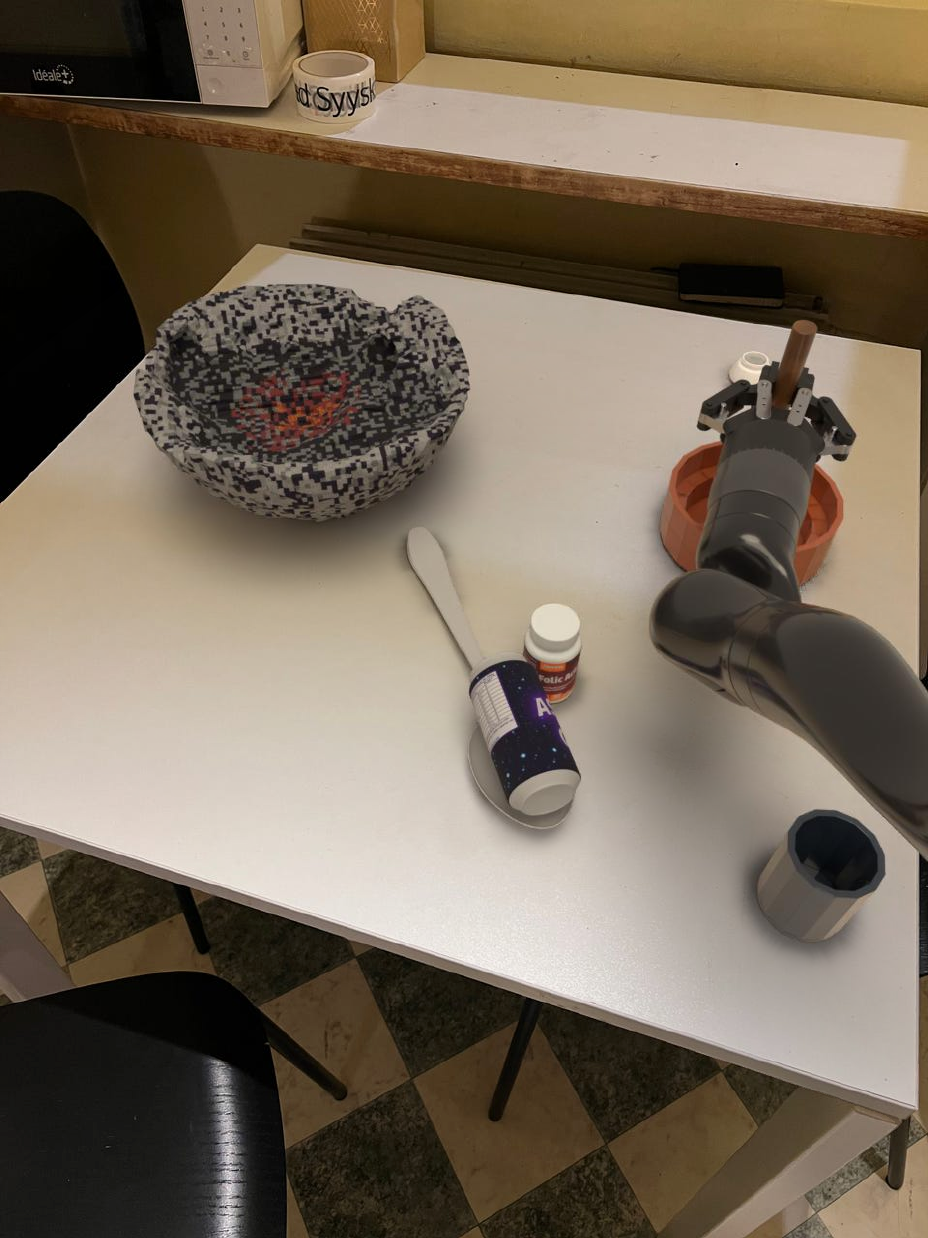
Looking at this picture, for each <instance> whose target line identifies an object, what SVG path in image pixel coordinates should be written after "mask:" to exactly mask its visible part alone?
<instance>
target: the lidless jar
mask: <svg viewBox="0 0 928 1238" xmlns="http://www.w3.org/2000/svg"><path fill="white" fill-rule="evenodd" d="M765 365H769V366H771V364H770V359H769V357H768V356H767V355H766V354H765V353H763V352H759V351H755V350H754V351H747V352H745V353H743V355H742V356H741V357H740V358H738V360H737V361H736V362H735V363H734V364H733V365H732V366H731V367H730V369H729V371H728V377H729V379H730V381H731V382H732V383H735V382H736V381H738V380H741V379H743V380H747V381H749V382H750V385H753V384H757V383H758V381H759V377H760V374H761V371H762V367H764V366H765Z"/></svg>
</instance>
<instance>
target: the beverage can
mask: <svg viewBox="0 0 928 1238" xmlns="http://www.w3.org/2000/svg"><path fill="white" fill-rule="evenodd" d="M471 669H472V668H471ZM468 681H469V687H468V696H469V699H470V701H471V705H472V707H473V711H474V714H475V716H476V718H477V721H478V722H479V724H480V727H481V730H482V732H483V735H484V738H485V741H486V744H487V746H488V749H489V752H490V755H491V758H492V760H493V763H494V766H495V769H496V772H497V774H498V777H499V780H500V783H501V786H502V788H503V791H504V794H505V797H506V800H507V802H508V804H509V806H511V807H512V808H514V809H517V810H520V811H522V812H523V813H525V814H527V815H543V814H547V813H550V812H553V811H556V810H558V809H560V808H561V807H563V806H565V805H566V804H567V803H569V802H570V801H571V800H572V799H573V797H574V796H575V797H576V793H577V789H578V787H579V786H580V783H581V781H582V775H581V772H580V770H579V767H578V765H577V763H576V761H575V758H574V756H573V753H572V751H571V749H570V747H569V744H568V742H567V739H566V737H565V735H564V732H563V730H562V728H561V726H560V723H559V720H558V717H557V716H556V714H555V711H554V709H553V707H552V703H550V702H549V700H548V697H547V695H546V693H545V690H544V688H543V686H542V683H541V681H540V679H539V676H538V674H537V672H536V669H535V668H534V667H533V666H532V665H531V664H530V663H528V662H527V660H526V659H525V657H524V656H523V654H521V653H518V652H514V651H503V652H498V653H494V654H492V655H489V656H487V657H485V658H483V660H482V661H480V662H479V663H478V664H477V665H476V666H475V667H474V668H473V669H472V670H471V671H470V673H469V677H468ZM575 797H574V798H575Z"/></svg>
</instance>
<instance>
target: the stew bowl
mask: <svg viewBox="0 0 928 1238" xmlns="http://www.w3.org/2000/svg"><path fill="white" fill-rule="evenodd" d="M722 448H723V444H722V442H721V440H717V441H715V442H711V443H706V444H702V445H699V446H698V447H696V448H694V449H693V450H691V451H689V452H687V453H686V454H684V455H683V456H681V458H680V460H679V461H678V462H677V463H676V464H675V466H674V467H673V469H672V470H671V474H670V478H669V482H668V485H667V490H666V495H665V499H664V504H663V507H662V511H661V517H660V522H659V527H658V528H659V531H660V536H661V539H662V543H663V546H664V547H665V549H666V550H667V551H668V553H669V554H670V555H671V557H672V558H673V560H674V561H675V563H677V564H678V566H680V567H681V568H683V569H684V570H685V571H686V572H689V571H692V570H695V569H697V568H696V551H697V547H698V543H699V540H700V536H701V532H702V529H703V525H704V522H705V518H706V515H707V503H708V497H709V489H710V486H711V484H712V482H713V479H714V475H715V472H716V468H717V465H718V462H719V458H720V455H721V451H722ZM843 521H844V499H843V496H842V493H840V490H839V488H838V486H837V484H836V482H835V480H833V478H831V476H830V475H829V474H828V473H827V472H825V470H824V469H823V468H822V467H821V466H819V465H818V464H817V463H815V468H814V473H813V479H812V485H811V491H810V496H809V502H808V507H807V512H806V516H805V519H804V522H803V524H802V527H801V529H800V532H799V538H798V543H797V549H796V554H795V560H794V568H795V571H796V575H797V578H798V583H799V587H801V586H802V585H804V584H805V583H807V582H808V581H809V580H811V579H812V578H813V577H814V576H817V574H818V572H819V570H820V568H821V567H822V565H823V563H824V561H825V559H826V557H827V555H828V553H829V551H830V550H831V549H830V548H831V546H832V545H833V542H834V540H835V538H836V536H837V533H838V532H839V530H840V527H841V525H842V523H843Z"/></svg>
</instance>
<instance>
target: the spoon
mask: <svg viewBox="0 0 928 1238" xmlns="http://www.w3.org/2000/svg"><path fill="white" fill-rule="evenodd" d="M406 554H407V558H408V562H409V564H410V566H411V567H412V569H413V571H414V572H415V574H416V575H417V577H418V578H419V579H420V581H421V583H423V586H424V587H425V589H426V590H427V592H428V593H429V595H430V597H431V599H432V600H433V602H434V604H435V605H436V607H437V609H438V611H439V613H440V615H441V616H442V618H443V620H444V621H445V623H446V625H447V627H448V629H449V631H450V633H451V634H452V636H453V638H454V639H455V641H456V643H457V645H458V646H459V648H460V650H461V652H462V653H463V655H464V657H465V658H466V660H467V662H468V664H469V665H470V667H471V669H473V668H474V667H475V666H476V665H477V664H478V663H479V662H480V661H482V660H483V659H484V657H483V655H482V653H481V649H480V647H479V645H478V643H477V640H476V637H475V636H474V635H475V634H474V632H473V630H472V628H471V625H470V623H469V620H468V618H467V615H466V613H465V611H464V608H463V605H462V603H461V600H460V598H459V596H458V593H457V591H456V588H455V585H454V583H453V580H452V577H451V574H450V571H449V565H448V563H447V559H446V556H445V554H444V551H443V549H442V547H441V545H440V544H439V542H438V541H437V539H436V538H435V536H434V535H433V534H432V532H431V531H430V530H429V529H428V528H426V527H424V526H414V527H412V528H411V529H410V530H409V532H408V534H407V537H406ZM467 758H468V763H469V768H470V770H471V773H472V776H473V778H474V781H475V783H476V785H477V787H478V789H479V790H480V792H481V793H483V795H484V797H486V799H487V800H488V801H489V802H490V803H491V804H492V805H493V806H494V807H495V808H496V809H498V810H499V812H501V813H502V814H504V815H505V816H506V817H508V818H509V819H511V820H513V821H514V822H516V823H518V824H520V825H522V826H525V827H527V828H529V829H530V828H531V829H534V830H548V829H552V828H555V827H557V826H559V825H560V824H562V823H563V822H564V821H565V819H567V818H568V816H569V814H570V812H571V810H572V808H573V805H574V803H575V797H576V795H575V796H574V797H573V799H572V800H571V801H570V802H569V803H567V804H566V805H565V806H563V807H561V808H560V809H558V810H556V811H553V812H550V813H547V814H543V815H527V814H525V813H523V812H522V811H520V810H517V809H514V808H512V807H511V806H509V804H508V802H507V800H506V797H505V794H504V791H503V788H502V786H501V783H500V780H499V777H498V774H497V772H496V769H495V766H494V763H493V760H492V758H491V755H490V752H489V749H488V746H487V744H486V741H485V738H484V735H483V732H482V730H481V727H480V724H479V721H478V723H477V724H476V726H475V727H474V729H473V730H472V732H471V734H470V737H469V739H468V743H467Z"/></svg>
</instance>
